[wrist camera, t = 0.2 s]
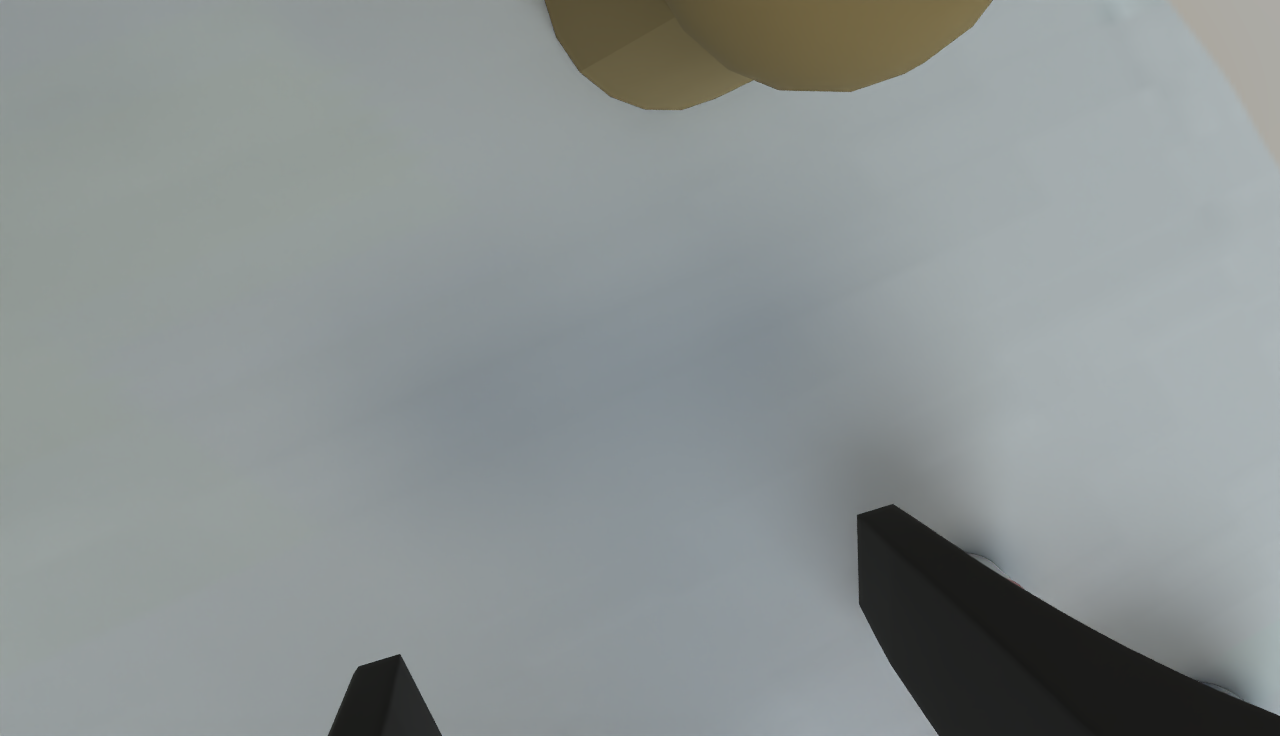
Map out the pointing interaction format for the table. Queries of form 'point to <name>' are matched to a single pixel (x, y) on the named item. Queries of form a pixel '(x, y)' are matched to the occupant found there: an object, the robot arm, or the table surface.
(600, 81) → the cork
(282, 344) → the table surface
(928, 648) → the robot arm
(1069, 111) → the table surface
